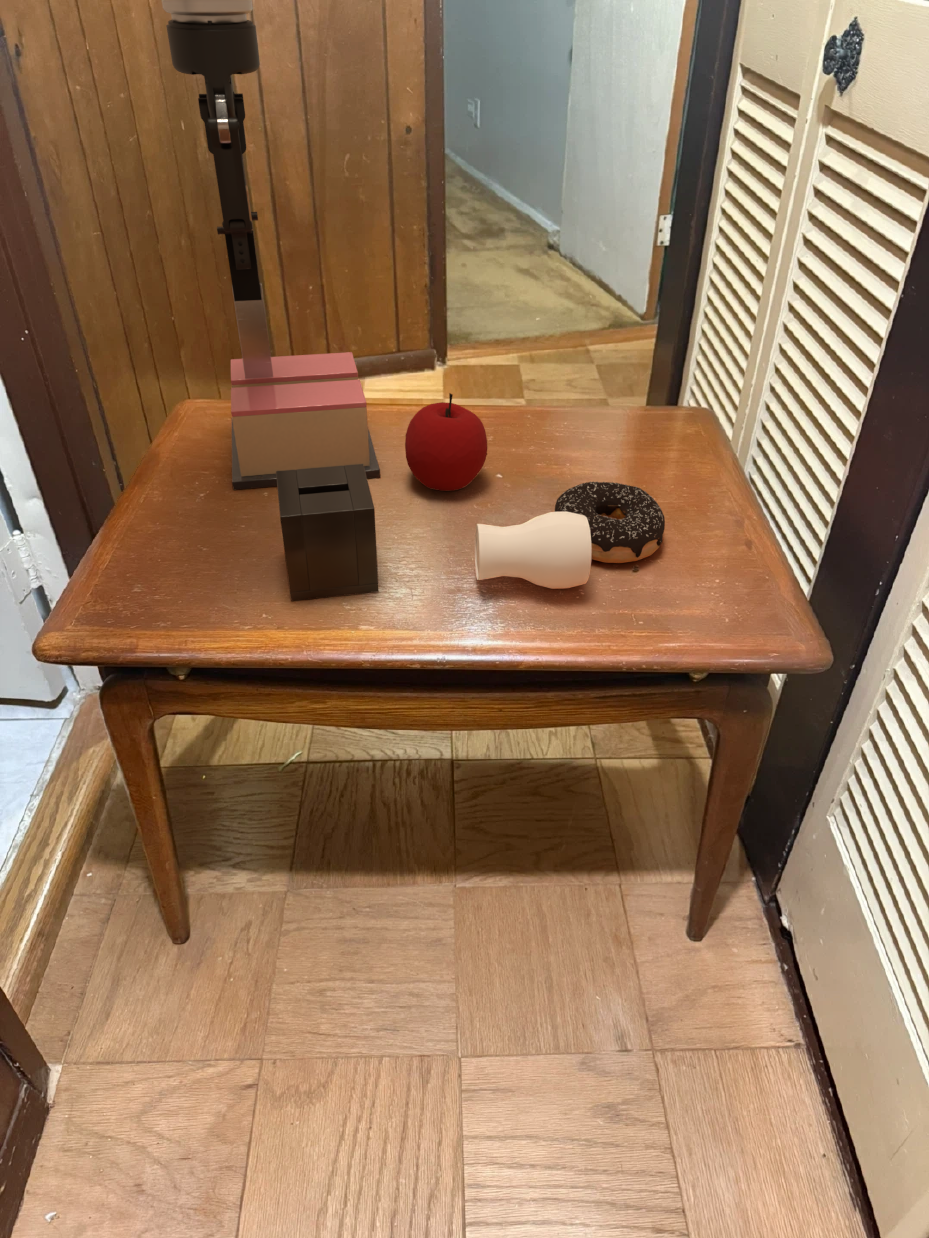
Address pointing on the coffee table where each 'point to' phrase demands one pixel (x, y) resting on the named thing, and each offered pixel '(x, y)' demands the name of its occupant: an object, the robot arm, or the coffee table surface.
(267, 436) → the cake
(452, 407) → the apple
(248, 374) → the knife
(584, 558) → the cream ceramic vase
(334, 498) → the knife block
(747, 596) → the coffee table surface
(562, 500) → the donut
